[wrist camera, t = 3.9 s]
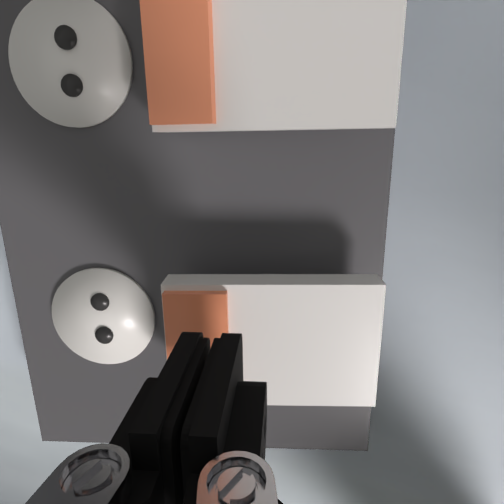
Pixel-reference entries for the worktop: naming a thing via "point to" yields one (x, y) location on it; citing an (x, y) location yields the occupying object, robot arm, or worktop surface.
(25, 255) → the power strip
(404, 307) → the worktop surface
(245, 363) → the outlet rocker
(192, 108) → the outlet rocker
